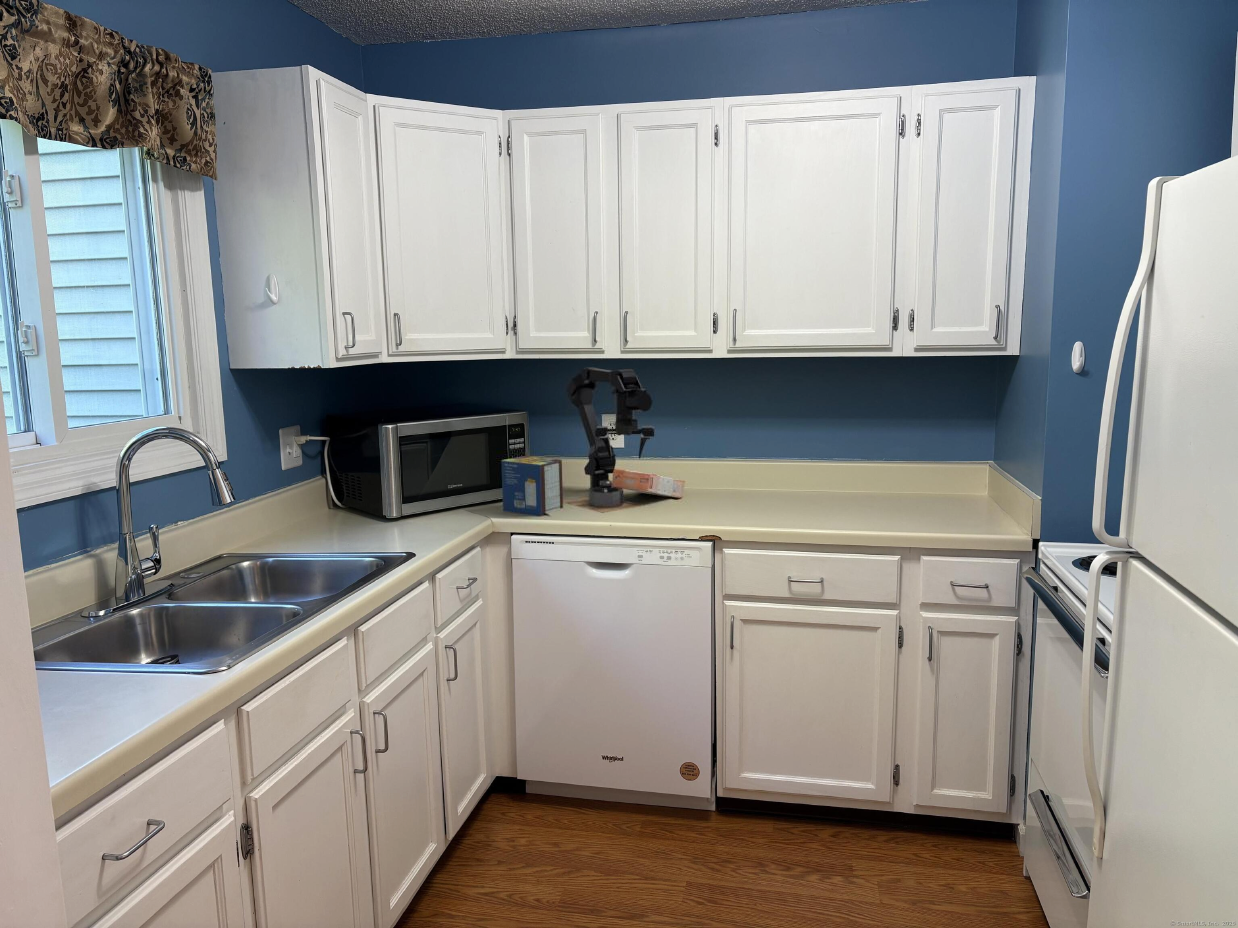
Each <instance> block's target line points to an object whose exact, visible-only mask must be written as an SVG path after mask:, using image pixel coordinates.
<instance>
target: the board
mask: <svg viewBox="0 0 1238 928" xmlns="http://www.w3.org/2000/svg"><path fill="white" fill-rule="evenodd" d="M564 503H565V504H567V505H571V506H576V507H579V508H583V509H586V510H591V511H594V512H598V513H603V514H604V513H610V512H616V511H621V510H628V509H633V508H634V509H635V508H640V507H645V504H644V505H643V504H639V503H637V502H631V501H628V500H624V499H623V505H622V506H620V507H614V508H597V507H592V506H589V498H588V496H587V497H582V498H580V497H579V498H574V499H573V498H572V499H567V500H563V504H564Z"/></svg>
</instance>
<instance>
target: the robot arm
mask: <svg viewBox="0 0 1238 928" xmlns="http://www.w3.org/2000/svg"><path fill="white" fill-rule="evenodd" d="M597 382H602V383H606V384H609V385H610V386H611V387H613V388H614V390H612V391H611V395H613V396H615V422H614V428H609V426H607V425H602V426H601V425H599V422H598V418H597V415H596V412H595V408H594V406H593V401H594V396H595V394H594V391H595V389H596V388H597ZM647 390H648V389H645V388H643V386H642V383H641V382H640V379H639V377H638V375H637V374H636V371H635V369H615V370H610V369H602V368H598V367H595V366H594V367H584V368H582V369H581V370H580V373H579V374H577V375H575V376H574V377H573V378H572V379H571V380H570V381H569V383H568V385H567V387H566V394H567V396H568V399H569V401H570V402H571V403H572V405H574V406H575V407H576V408H577V410H578V413H579V416H580V420H581V422H582V425H583V426H582V427H583V428H584V432H585V435H586V438H587V441H588V445H589V451H588V455H587V457H588V462H587V463H586V465H585V466H584V468H583V469H584V474H585V475H586V476H589V482H590V485H589V486H590V487H589V488H591V487H594V488H597V487H600V481H602V480H610V478H609V477H610V475H611V474H613V472H614V469H615V467H616V464H617V459H616V456H617V455H616V453H615V451H614V447H613V445H611V439H610V435H617V436H632V435H641V436H640V442H639V451H638V459H641V456H642V453H643V450H644V447H645V444H646V443H647V441H648V440H651V437H655V427H654V425H642V426H641V428H639V420H638V419H637V418H636V419H635V416H634V414H635V413H634V412H635V411H636V412H648V411H649V410H650V409H651V408H652V405H653V400H652V398H651V396H650V394H649V393H648V391H647ZM588 490H589V489H587V490H586V492H587V491H588Z"/></svg>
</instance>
